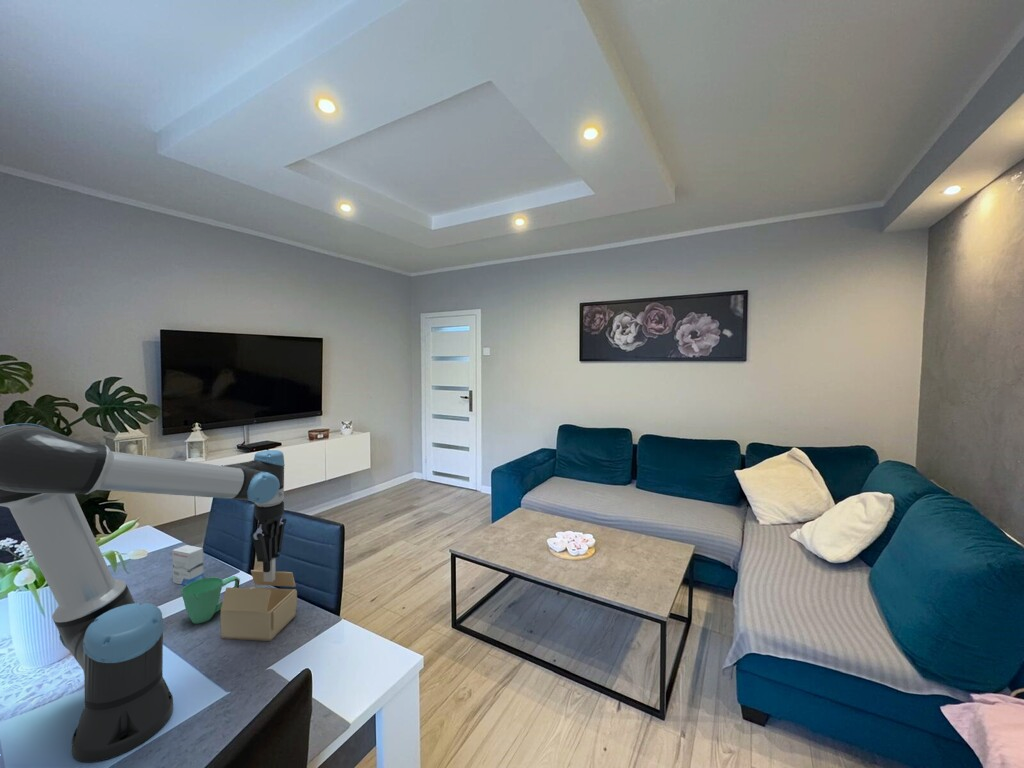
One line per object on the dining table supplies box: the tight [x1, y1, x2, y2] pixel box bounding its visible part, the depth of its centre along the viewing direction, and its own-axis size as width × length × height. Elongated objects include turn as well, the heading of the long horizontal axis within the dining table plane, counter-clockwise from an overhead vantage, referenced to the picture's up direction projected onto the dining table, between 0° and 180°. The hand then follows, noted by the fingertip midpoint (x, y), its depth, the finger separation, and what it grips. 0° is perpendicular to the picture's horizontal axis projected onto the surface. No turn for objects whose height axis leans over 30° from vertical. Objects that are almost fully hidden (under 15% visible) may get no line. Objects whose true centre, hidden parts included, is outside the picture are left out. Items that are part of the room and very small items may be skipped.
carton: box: [220, 586, 298, 642], centre depth 117 cm, size 12×15×8 cm
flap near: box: [220, 587, 271, 612], centre depth 111 cm, size 1×13×6 cm, turn 87°
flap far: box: [250, 569, 297, 588], centre depth 122 cm, size 1×13×6 cm, turn 87°
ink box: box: [171, 544, 205, 587], centre depth 140 cm, size 9×5×12 cm, turn 73°
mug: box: [181, 575, 241, 624], centre depth 122 cm, size 15×10×10 cm
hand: (269, 580), depth 120 cm, fingers closed
